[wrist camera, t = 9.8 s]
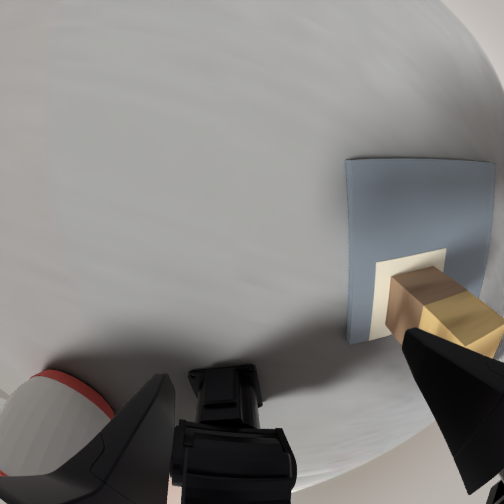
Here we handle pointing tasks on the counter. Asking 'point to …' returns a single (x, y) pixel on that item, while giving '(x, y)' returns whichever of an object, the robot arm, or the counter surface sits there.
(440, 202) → the board
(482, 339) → the ochre block
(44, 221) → the counter surface
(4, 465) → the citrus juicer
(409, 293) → the walnut block
